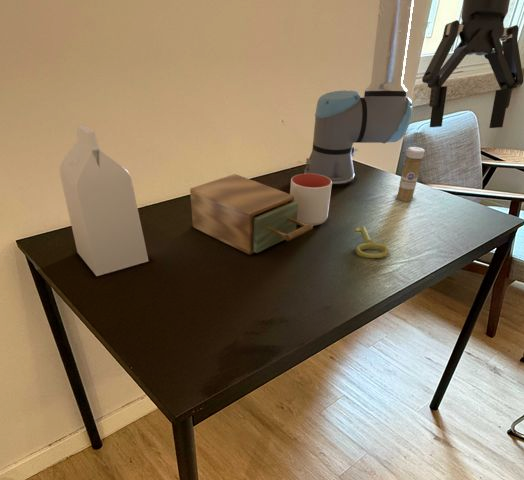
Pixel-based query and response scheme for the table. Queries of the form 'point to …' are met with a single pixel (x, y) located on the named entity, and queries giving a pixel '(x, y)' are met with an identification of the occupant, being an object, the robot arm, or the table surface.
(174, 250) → the table surface
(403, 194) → the sprinkles bottle
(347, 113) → the robot arm
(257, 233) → the drawer
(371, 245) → the key
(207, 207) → the cabinet
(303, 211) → the cup
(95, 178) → the milk
